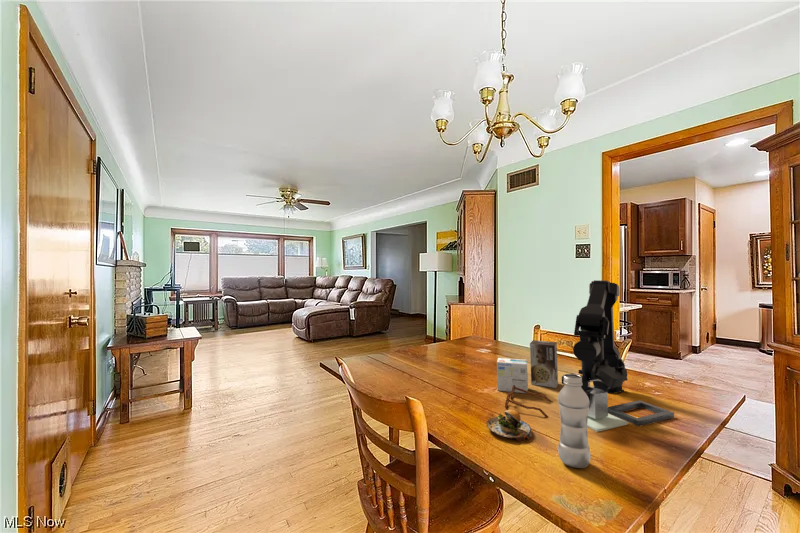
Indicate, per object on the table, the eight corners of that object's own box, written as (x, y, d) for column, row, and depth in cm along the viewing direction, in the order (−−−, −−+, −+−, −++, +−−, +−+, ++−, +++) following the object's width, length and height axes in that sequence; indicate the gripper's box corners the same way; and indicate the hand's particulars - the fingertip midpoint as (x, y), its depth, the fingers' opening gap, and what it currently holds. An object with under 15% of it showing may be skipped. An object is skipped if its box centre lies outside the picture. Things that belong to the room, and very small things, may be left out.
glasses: (512, 396, 117) (512, 382, 117) (553, 403, 110) (552, 388, 110) (504, 410, 105) (503, 395, 105) (548, 419, 99) (548, 402, 99)
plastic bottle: (552, 456, 78) (550, 372, 78) (579, 455, 79) (577, 371, 79) (568, 473, 72) (566, 381, 72) (598, 471, 72) (595, 380, 73)
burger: (482, 422, 97) (482, 397, 97) (522, 422, 97) (522, 396, 97) (492, 443, 85) (492, 414, 85) (539, 443, 85) (538, 414, 85)
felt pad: (561, 414, 101) (561, 412, 101) (591, 408, 105) (591, 406, 105) (597, 431, 90) (597, 429, 90) (628, 424, 94) (628, 422, 94)
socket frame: (606, 412, 102) (605, 407, 102) (639, 404, 107) (639, 400, 107) (639, 426, 93) (638, 421, 93) (674, 417, 98) (674, 412, 98)
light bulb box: (527, 387, 124) (527, 359, 124) (528, 394, 118) (527, 363, 118) (498, 384, 128) (497, 357, 128) (497, 391, 121) (496, 361, 121)
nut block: (580, 412, 99) (579, 388, 99) (592, 409, 101) (592, 386, 101) (595, 419, 94) (594, 394, 94) (608, 416, 96) (607, 392, 96)
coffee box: (558, 383, 128) (557, 341, 128) (556, 388, 123) (555, 345, 123) (533, 379, 133) (532, 339, 133) (530, 384, 128) (529, 342, 128)
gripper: (593, 365, 87) (594, 424, 87) (642, 357, 93) (643, 413, 93) (559, 355, 98) (560, 408, 97) (605, 349, 104) (606, 398, 104)
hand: (593, 407), depth 98 cm, fingers closed on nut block, 5 cm apart
